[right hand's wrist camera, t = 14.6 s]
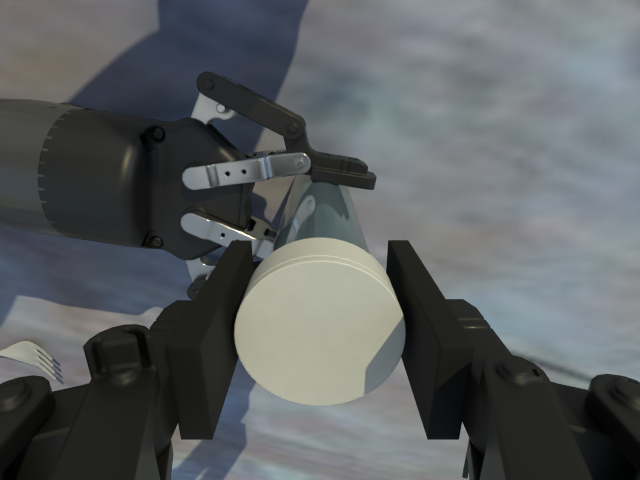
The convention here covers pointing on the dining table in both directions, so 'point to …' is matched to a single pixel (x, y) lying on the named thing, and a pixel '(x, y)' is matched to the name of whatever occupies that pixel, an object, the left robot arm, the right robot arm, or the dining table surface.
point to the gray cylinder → (319, 214)
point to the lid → (319, 323)
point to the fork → (29, 355)
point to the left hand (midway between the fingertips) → (363, 218)
